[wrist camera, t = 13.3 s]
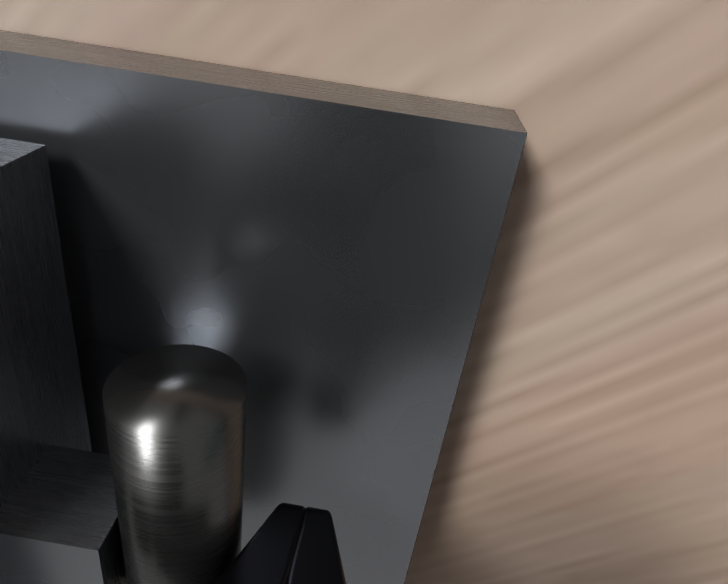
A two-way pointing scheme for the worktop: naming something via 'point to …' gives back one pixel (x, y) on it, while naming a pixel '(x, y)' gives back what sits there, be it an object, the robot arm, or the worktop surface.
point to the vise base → (277, 260)
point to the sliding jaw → (123, 423)
